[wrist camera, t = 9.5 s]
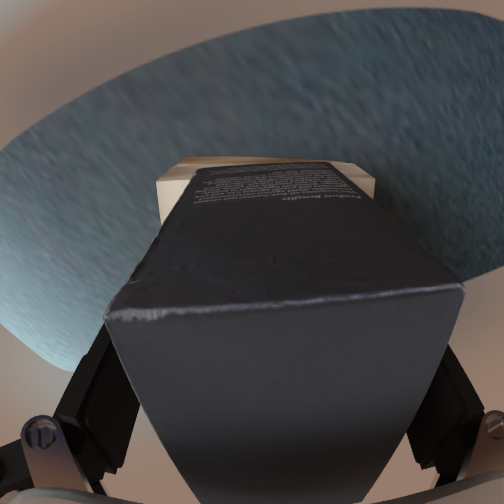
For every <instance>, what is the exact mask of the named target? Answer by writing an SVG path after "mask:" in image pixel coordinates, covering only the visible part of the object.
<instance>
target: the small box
mask: <svg viewBox="0 0 504 504" xmlns="http://www.w3.org/2000/svg"><path fill="white" fill-rule="evenodd" d="M464 296H465V286H464V285H463V284H462V283H461V282H460V281H459V280H458V279H457V278H456V277H455V276H454V275H453V274H452V273H451V272H450V271H449V270H448V269H447V267H446V266H445V265H443V264H442V263H441V262H440V261H439V260H438V259H437V258H436V257H435V256H434V255H433V254H432V253H431V252H430V251H429V250H428V249H427V248H426V247H425V246H424V245H423V244H422V243H421V242H420V241H419V240H417V239H416V238H415V237H414V236H413V235H412V234H411V233H410V232H409V231H408V230H406V229H405V228H404V227H403V226H402V225H401V224H400V223H399V222H398V221H397V220H396V219H395V218H393V217H392V216H391V215H390V214H389V213H388V212H387V211H386V210H384V209H383V208H382V207H381V206H380V205H379V204H378V203H376V202H375V201H374V200H373V199H372V198H371V197H370V196H369V195H368V194H366V193H365V192H364V191H363V190H362V189H360V188H359V187H358V186H357V185H356V184H355V183H353V182H352V181H351V180H350V179H349V178H347V177H346V176H345V175H344V174H343V173H341V172H340V171H339V170H338V169H336V168H335V167H334V166H333V165H332V164H331V163H329V162H290V163H289V162H285V163H262V164H246V165H232V166H218V167H207V168H199V169H197V170H196V171H195V172H194V174H193V176H192V178H191V179H190V181H189V183H188V185H187V186H186V188H185V189H184V191H183V193H182V195H180V197H179V199H178V200H177V202H176V204H175V205H174V206H173V208H172V210H171V211H170V213H169V215H168V216H167V217H166V219H165V220H164V221H163V223H162V226H161V228H160V229H159V230H158V232H157V234H156V237H155V238H154V239H153V240H152V241H151V242H150V246H149V247H148V249H147V250H146V252H145V253H144V255H143V256H142V258H141V260H140V262H138V263H137V265H136V266H135V268H134V270H133V271H132V272H131V274H130V276H129V277H128V279H127V281H126V283H125V285H124V286H122V287H121V288H120V289H119V291H118V292H117V293H116V294H115V296H114V297H113V299H112V301H111V302H110V304H109V305H108V307H107V309H106V311H105V313H104V316H103V320H104V322H105V325H106V327H107V330H108V332H109V334H110V337H111V340H112V343H113V345H114V347H115V349H116V352H117V354H118V357H119V359H120V361H121V364H122V366H123V368H124V370H125V373H126V375H127V377H128V379H129V381H130V383H131V386H132V388H133V390H134V392H135V394H136V396H137V398H138V400H139V402H140V404H141V406H142V408H143V410H144V412H145V413H146V415H147V417H148V419H149V421H150V423H151V425H152V427H153V429H154V430H155V432H156V434H157V436H158V437H159V439H160V441H161V443H162V445H163V446H164V448H165V450H166V451H167V453H168V455H169V456H170V458H171V459H172V461H173V463H174V464H175V466H176V468H177V469H178V471H179V473H180V474H181V476H182V477H183V479H184V480H185V482H186V483H187V484H188V486H189V488H190V489H191V491H192V492H193V494H194V495H195V497H196V498H197V500H198V501H199V502H200V504H353V503H358V502H362V501H363V499H364V498H365V496H366V495H367V493H368V492H369V491H370V489H371V488H372V486H373V485H374V483H375V482H376V480H377V479H378V477H379V476H380V474H381V473H382V471H383V469H384V468H385V466H386V464H387V463H388V462H389V460H390V458H391V457H392V455H393V453H394V452H395V450H396V448H397V447H398V445H399V443H400V442H401V440H402V438H403V436H404V435H405V433H406V431H407V429H408V427H409V426H410V424H411V422H412V420H413V418H414V416H415V414H416V412H417V410H418V408H419V407H420V405H421V402H422V400H423V398H424V396H425V394H426V392H427V390H428V388H429V386H430V384H431V381H432V379H433V377H434V375H435V373H436V370H437V368H438V366H439V364H440V361H441V359H442V357H443V354H444V352H445V349H446V347H447V344H448V342H449V339H450V336H451V334H452V331H453V328H454V325H455V323H456V320H457V317H458V314H459V311H460V308H461V305H462V302H463V299H464Z"/></svg>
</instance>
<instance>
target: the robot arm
mask: <svg viewBox="0 0 504 504" xmlns="http://www.w3.org/2000/svg"><path fill="white" fill-rule="evenodd" d="M139 407H140V402H139V400H138V398H137V396H136V394H135V392H134V390H133V388H132V386H131V383H130V381H129V379H128V377H127V375H126V373H125V370H124V368H123V366H122V364H121V361H120V359H119V357H118V354H117V352H116V349H115V347H114V345H113V343H112V340H111V337H110V334H109V332H108V330H107V327H106V325H105V322H104V324H103V326H102V328H101V329H100V331H99V333H98V335H97V337H96V338H95V340H94V342H93V344H92V346H91V348H90V350H89V351H88V353H87V354H86V355H84V356H83V357H82V359H81V361H80V363H79V364H78V366H77V368H76V370H75V372H74V374H73V376H72V378H71V380H70V382H69V384H68V386H67V388H66V390H65V392H64V394H63V396H62V398H61V400H60V402H59V404H58V406H57V408H56V410H55V413H54V415H53V417H50V416H48V415H38V416H35V417H33V418H31V419H29V420H28V421H27V422H26V423H25V424H24V426H23V428H22V430H21V434H20V436H21V439H19V440H16V441H14V442H11V443H9V444H7V445H4V446H2V447H0V504H142V503H137V502H131V501H127V500H122V499H118V498H113V497H111V496H110V495H109V493H108V491H107V489H106V487H105V485H104V483H103V482H102V479H103V476H104V473H105V472H107V473H112V474H116V472H117V468H121V467H122V466H123V463H124V460H125V456H126V452H127V448H128V445H129V442H130V438H131V435H132V431H133V428H134V424H135V421H136V417H137V414H138V411H139ZM483 410H484V406H483V404H482V402H481V400H480V399H479V397H478V395H477V393H476V391H475V389H474V387H473V386H472V384H471V382H470V380H469V378H468V377H467V375H466V373H465V371H464V370H463V368H462V366H461V364H460V363H459V361H458V359H457V358H456V356H455V354H454V353H453V351H452V349H451V348H450V346H449V344H447V347H446V349H445V352H444V354H443V357H442V359H441V361H440V364H439V366H438V368H437V370H436V373H435V375H434V377H433V379H432V381H431V384H430V386H429V388H428V390H427V392H426V394H425V396H424V398H423V400H422V402H421V405H420V407H419V408H418V410H417V412H416V414H415V416H414V418H413V420H412V422H411V424H410V426H409V427H408V429H407V431H406V433H407V436H408V439H409V442H410V445H411V448H412V452H413V455H414V458H415V460H416V462H417V463H420V466H421V469H422V470H423V469H427V468H431V467H434V466H435V467H436V470H437V473H436V475H435V477H434V479H433V482H432V484H431V486H430V488H429V490H426V491H423V492H419V493H415V494H412V495H408V496H404V497H400V498H396V499H392V500H387V501H382V502H377V503H372V504H504V412H502V411H498V410H492V411H489V412H487V413H486V414H485V413H484V411H483Z"/></svg>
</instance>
